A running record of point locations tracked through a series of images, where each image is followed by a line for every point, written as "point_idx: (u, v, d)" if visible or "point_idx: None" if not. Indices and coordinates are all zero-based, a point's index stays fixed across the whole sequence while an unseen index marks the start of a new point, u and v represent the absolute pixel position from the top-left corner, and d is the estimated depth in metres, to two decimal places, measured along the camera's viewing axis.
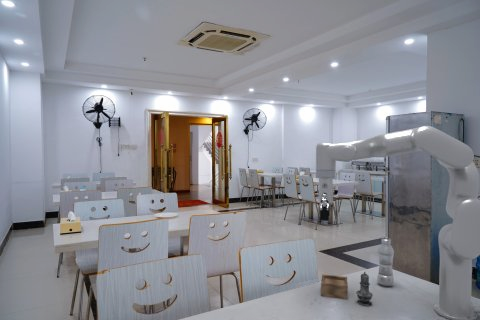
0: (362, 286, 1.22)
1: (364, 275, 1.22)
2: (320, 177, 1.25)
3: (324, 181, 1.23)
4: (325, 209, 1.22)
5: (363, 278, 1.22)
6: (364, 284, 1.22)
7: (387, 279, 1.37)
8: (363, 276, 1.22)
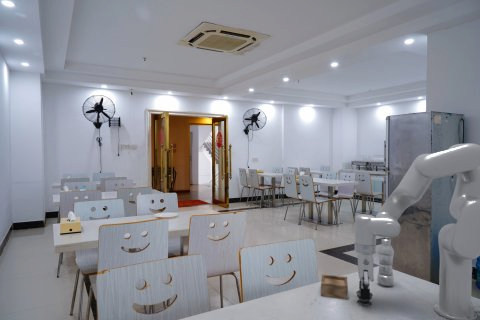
0: None
1: None
2: (360, 252, 1.20)
3: (365, 257, 1.18)
4: (366, 289, 1.19)
5: (363, 278, 1.22)
6: None
7: (387, 279, 1.37)
8: None
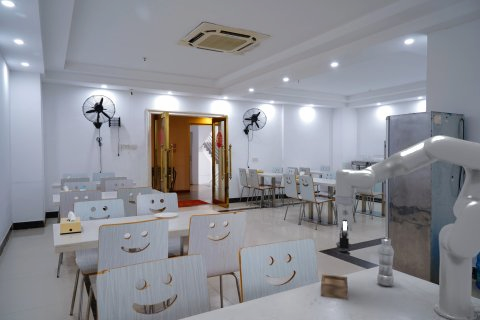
0: None
1: None
2: (340, 203, 1.26)
3: (344, 208, 1.24)
4: (345, 238, 1.24)
5: (342, 229, 1.27)
6: None
7: (387, 279, 1.37)
8: None
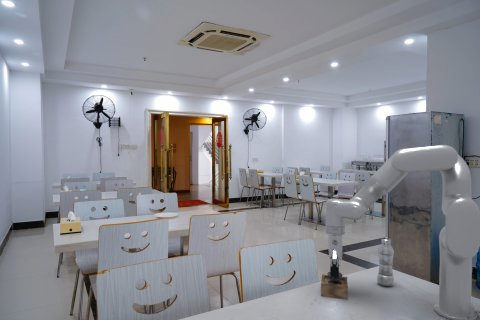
0: None
1: None
2: (330, 233, 1.29)
3: (334, 238, 1.27)
4: (335, 266, 1.26)
5: None
6: None
7: (387, 279, 1.37)
8: None
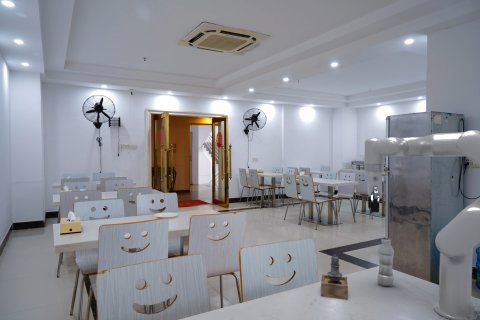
0: (332, 267, 1.31)
1: (334, 257, 1.31)
2: (370, 171, 1.31)
3: (374, 175, 1.29)
4: (376, 201, 1.28)
5: (333, 259, 1.31)
6: (334, 265, 1.30)
7: (387, 279, 1.37)
8: (333, 258, 1.31)
